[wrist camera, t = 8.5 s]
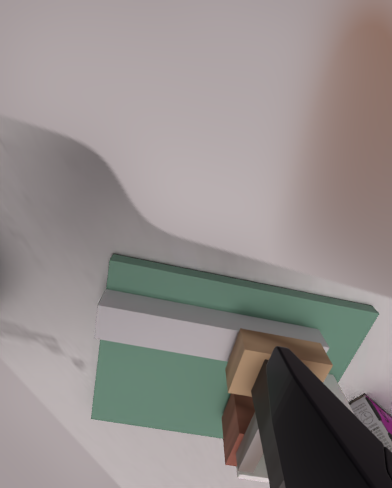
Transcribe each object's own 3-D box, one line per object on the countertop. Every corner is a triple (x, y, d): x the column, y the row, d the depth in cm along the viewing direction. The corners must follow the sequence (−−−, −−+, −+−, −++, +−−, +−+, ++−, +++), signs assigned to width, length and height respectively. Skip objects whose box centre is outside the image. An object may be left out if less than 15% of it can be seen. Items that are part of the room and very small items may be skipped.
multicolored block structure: (200, 414, 26) (202, 571, 17) (236, 311, 21) (266, 451, 12) (262, 424, 27) (296, 581, 18) (310, 325, 22) (391, 469, 13)
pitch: (94, 409, 28) (76, 459, 24) (113, 253, 21) (93, 286, 17) (294, 439, 30) (310, 490, 26) (372, 305, 23) (410, 346, 19)
